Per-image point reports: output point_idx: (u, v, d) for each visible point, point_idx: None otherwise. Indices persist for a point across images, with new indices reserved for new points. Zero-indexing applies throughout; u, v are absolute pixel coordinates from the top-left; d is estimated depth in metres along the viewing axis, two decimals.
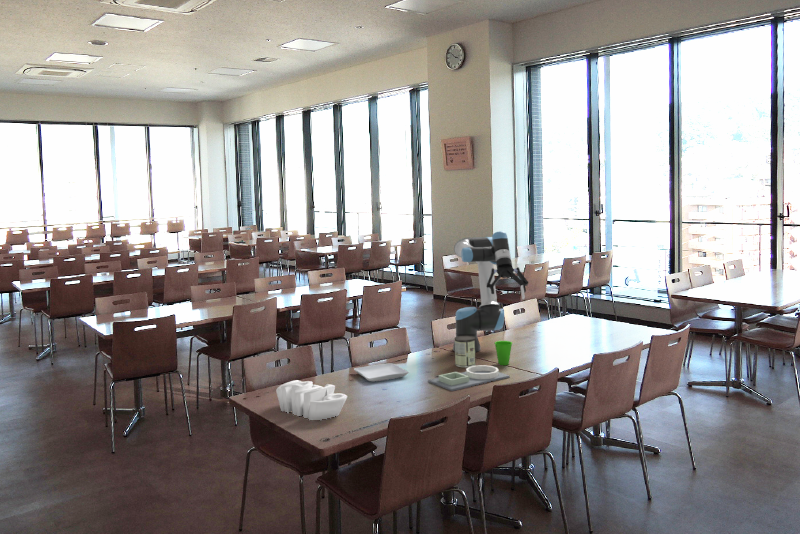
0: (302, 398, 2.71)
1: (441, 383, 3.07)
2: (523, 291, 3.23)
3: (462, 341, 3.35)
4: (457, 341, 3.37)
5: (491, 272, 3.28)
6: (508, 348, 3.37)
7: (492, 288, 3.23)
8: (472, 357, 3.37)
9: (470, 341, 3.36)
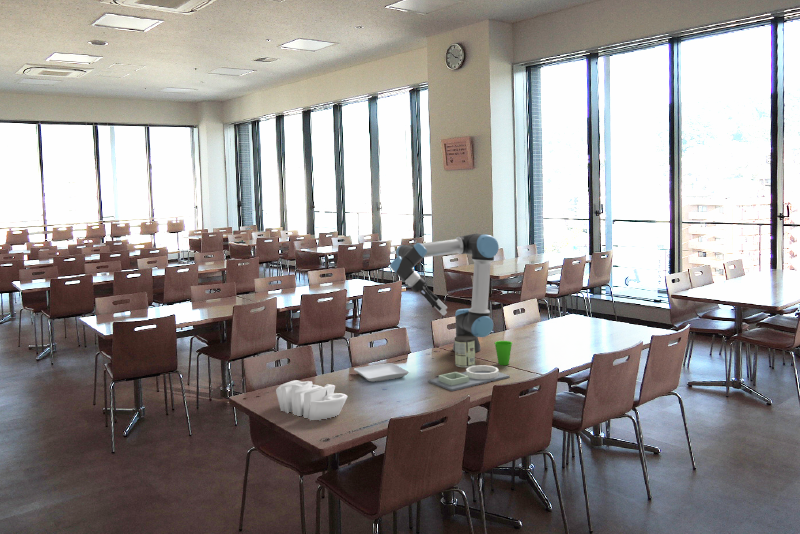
0: (302, 398, 2.71)
1: (441, 383, 3.07)
2: (439, 311, 3.32)
3: (462, 341, 3.35)
4: (457, 341, 3.37)
5: None
6: (508, 348, 3.37)
7: (436, 302, 3.47)
8: (472, 357, 3.37)
9: (470, 341, 3.36)
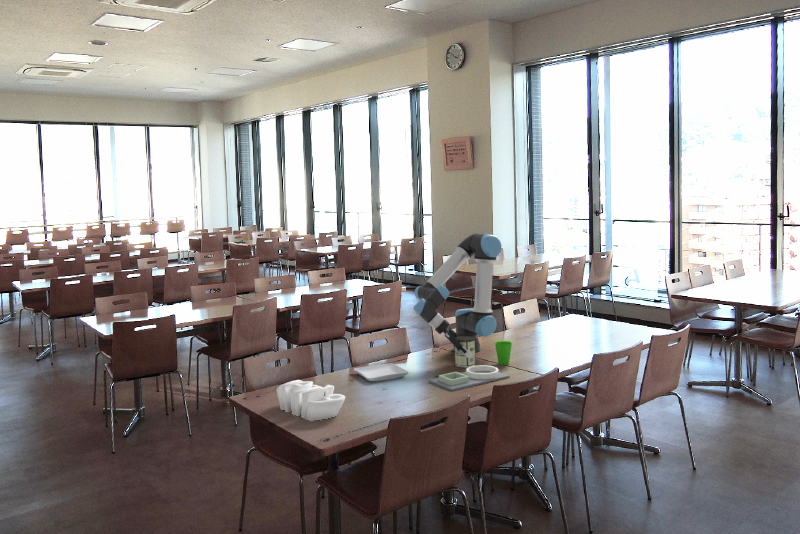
0: (300, 398, 2.71)
1: (441, 383, 3.07)
2: (464, 354, 3.36)
3: (462, 341, 3.35)
4: None
5: None
6: (508, 348, 3.37)
7: None
8: (472, 357, 3.37)
9: (470, 341, 3.36)
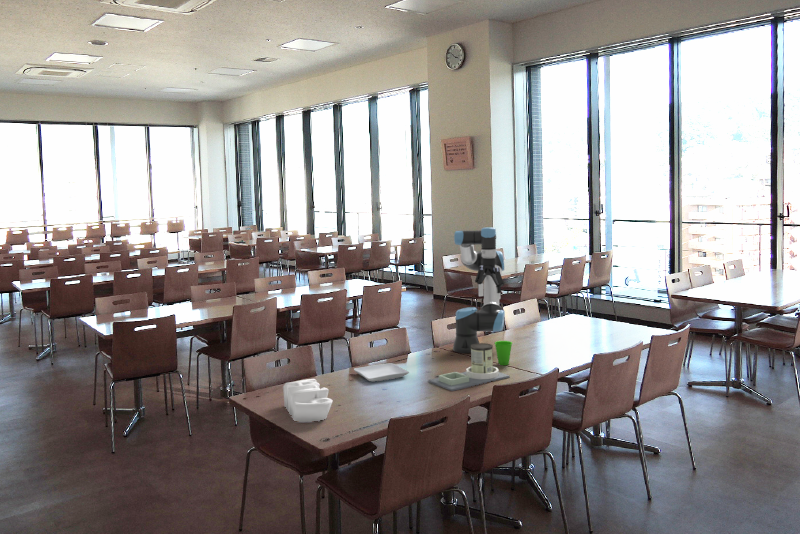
0: None
1: (441, 383, 3.07)
2: (495, 293, 3.45)
3: (479, 349, 3.13)
4: (474, 349, 3.15)
5: None
6: (508, 348, 3.37)
7: None
8: (490, 366, 3.15)
9: (488, 349, 3.13)
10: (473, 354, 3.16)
